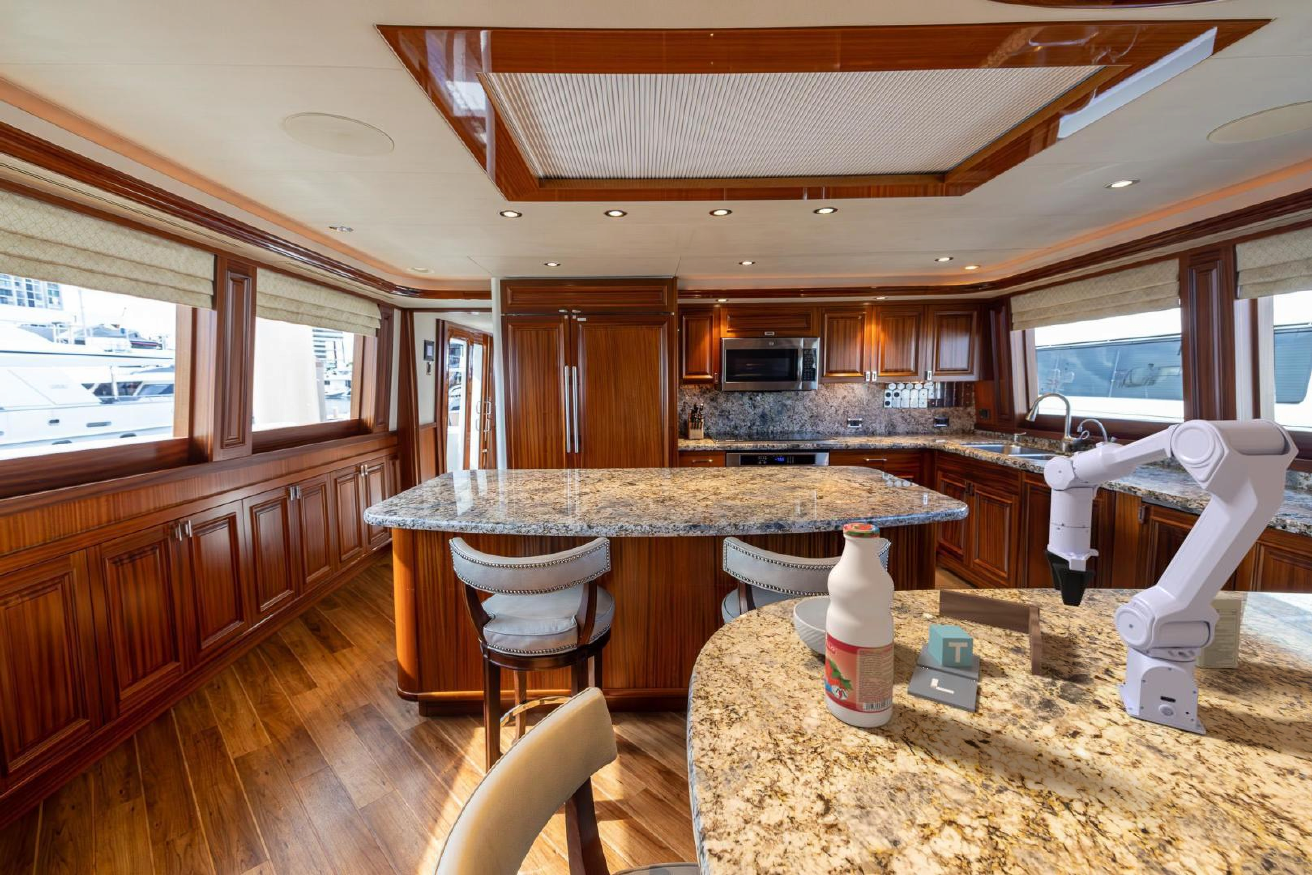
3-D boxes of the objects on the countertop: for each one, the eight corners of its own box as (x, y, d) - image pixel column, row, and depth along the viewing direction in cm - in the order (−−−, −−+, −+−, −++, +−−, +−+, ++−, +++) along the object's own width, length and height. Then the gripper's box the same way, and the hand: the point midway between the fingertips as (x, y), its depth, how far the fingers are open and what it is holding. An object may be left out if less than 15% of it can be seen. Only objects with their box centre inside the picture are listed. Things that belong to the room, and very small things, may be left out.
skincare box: (1214, 656, 91) (1219, 589, 90) (1239, 669, 87) (1244, 599, 86) (1174, 655, 92) (1178, 588, 91) (1197, 667, 87) (1202, 598, 86)
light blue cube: (972, 667, 88) (973, 638, 87) (942, 666, 88) (943, 638, 88) (957, 652, 93) (958, 625, 92) (928, 651, 93) (929, 624, 93)
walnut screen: (1043, 676, 85) (1045, 644, 85) (928, 649, 95) (929, 620, 94) (1038, 633, 101) (1039, 606, 100) (939, 613, 110) (940, 588, 110)
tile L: (974, 712, 76) (974, 709, 76) (907, 693, 81) (907, 690, 81) (977, 684, 83) (977, 681, 83) (915, 668, 88) (915, 665, 88)
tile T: (977, 681, 84) (977, 678, 84) (916, 665, 89) (916, 662, 89) (980, 658, 92) (980, 655, 92) (923, 644, 97) (923, 642, 97)
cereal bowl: (783, 660, 92) (783, 622, 91) (803, 623, 106) (803, 590, 106) (887, 684, 84) (888, 642, 83) (893, 641, 98) (894, 605, 98)
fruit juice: (892, 736, 71) (897, 537, 69) (821, 720, 75) (824, 531, 72) (891, 699, 80) (896, 521, 77) (827, 686, 83) (830, 516, 81)
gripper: (1111, 536, 84) (1106, 617, 85) (1088, 517, 96) (1084, 588, 98) (1056, 531, 87) (1053, 609, 88) (1042, 513, 100) (1038, 581, 101)
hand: (1066, 597), depth 93 cm, fingers open, 7 cm apart
